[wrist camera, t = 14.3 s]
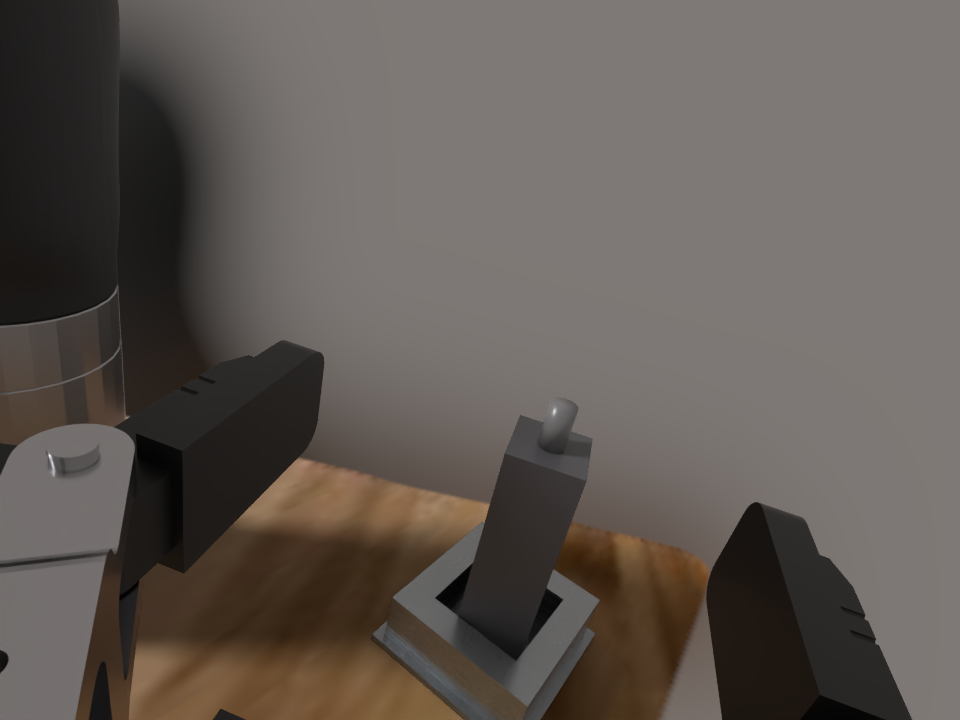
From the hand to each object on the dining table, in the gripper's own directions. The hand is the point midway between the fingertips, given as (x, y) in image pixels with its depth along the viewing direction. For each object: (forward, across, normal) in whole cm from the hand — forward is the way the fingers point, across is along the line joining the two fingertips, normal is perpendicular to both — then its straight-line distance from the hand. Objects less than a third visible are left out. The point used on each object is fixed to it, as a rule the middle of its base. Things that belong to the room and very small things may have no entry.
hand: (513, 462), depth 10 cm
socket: (+16, -1, +24) cm, 29 cm away
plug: (+15, -1, +24) cm, 28 cm away
